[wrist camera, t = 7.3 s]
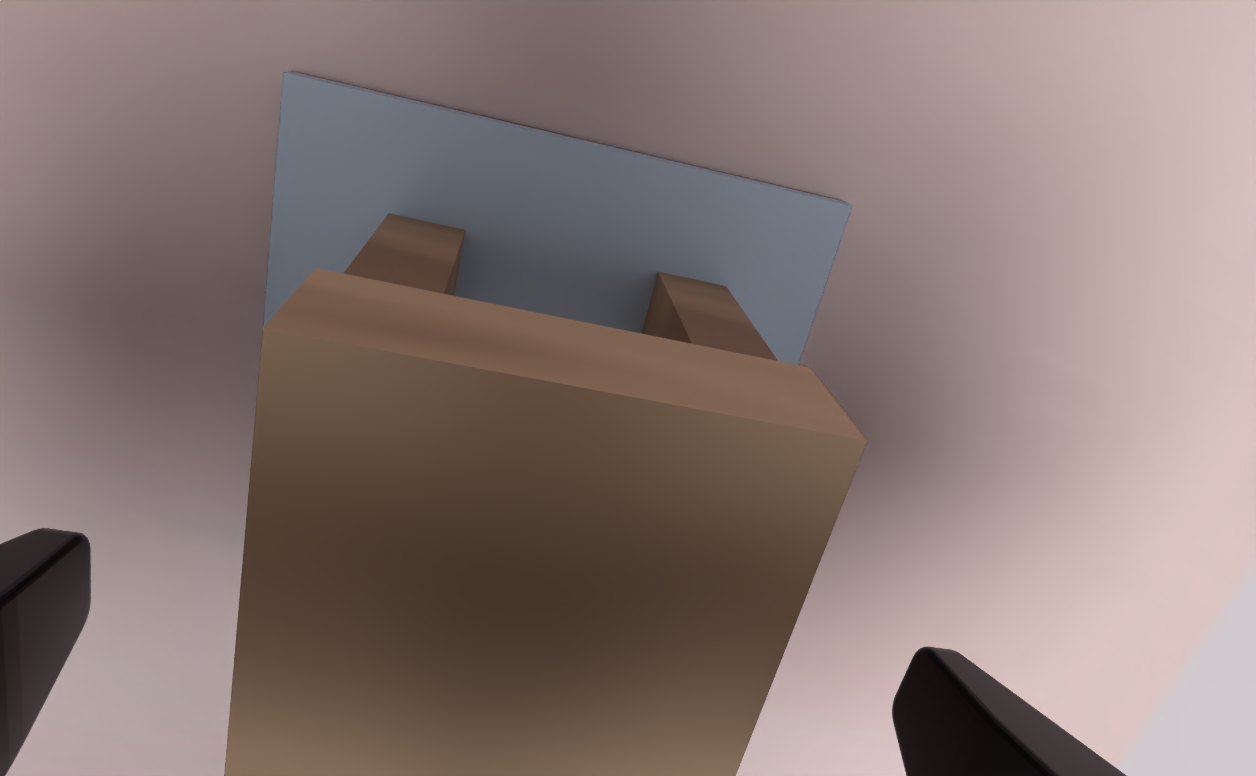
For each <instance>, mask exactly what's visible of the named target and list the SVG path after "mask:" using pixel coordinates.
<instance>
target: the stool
mask: <svg viewBox="0 0 1256 776" xmlns="http://www.w3.org/2000/svg"><path fill="white" fill-rule="evenodd" d="M464 235H465V230H464V229H459V228H454V227H450V226H445V225H441V224H436V223H431V222H427V221H422V220H417V219H413V218H408V217H404V216H399V215H394V214H390V213H388V215H387V216H386V217H385V219H384V220H383V221H382V223H381V224H380V225H379V227H378V228H377V229H376V231H375V232H374V233H373V235H372V236H371V237H370V239H369V240H368V241H367V243H366V244H365V245H364V247H363V248H362V249H361V251H360V252H359V253H358V255H357V256H356V257H355V259H354V260H353V261H352V263H351V264H350V265H349V267H348V268H347V269H346V271H345V272H344V273H338V272H333V271H328V270H323V269H318V268H315V269H314V270H313V272H312V273H311V274H310V275H309V276H308V277H307V278H306V280H305V281H304V282H303V283H302V284H301V285H300V286H299V288H298V289H297V290H296V291H295V292H294V293H293V294H292V295H291V297H290V298H289V299H288V300H287V301H286V302H285V303H284V305H283V306H282V307H281V308H280V309H279V310H278V311H277V313H276V314H275V315H274V316H273V317H272V318H271V319H270V320H269V322H268V323H267V324H266V325H265V326H264V327H263V332H262V344H261V355H260V367H259V379H258V390H257V402H256V414H255V425H254V437H253V448H252V460H251V472H250V483H249V495H248V506H247V518H246V530H245V541H244V553H243V565H242V576H241V588H240V599H239V611H238V623H237V634H236V646H235V657H234V669H233V681H232V692H231V704H230V716H229V727H228V739H227V750H226V762H225V774H224V776H736V773H737V771H738V768H739V766H740V763H741V761H742V758H743V755H744V753H745V750H746V748H747V745H748V743H749V740H750V738H751V735H752V733H753V730H754V728H755V725H756V722H757V720H758V717H759V715H760V712H761V710H762V707H763V705H764V702H765V700H766V697H767V695H768V692H769V689H770V687H771V684H772V682H773V679H774V677H775V674H776V672H777V669H778V667H779V664H780V662H781V659H782V656H783V654H784V651H785V649H786V646H787V644H788V641H789V639H790V636H791V634H792V631H793V629H794V626H795V623H796V621H797V618H798V616H799V613H800V611H801V608H802V606H803V603H804V601H805V598H806V596H807V593H808V590H809V588H810V585H811V583H812V580H813V578H814V575H815V573H816V570H817V568H818V565H819V563H820V560H821V557H822V555H823V552H824V550H825V547H826V545H827V542H828V540H829V537H830V535H831V532H832V530H833V527H834V524H835V522H836V519H837V517H838V514H839V512H840V509H841V507H842V504H843V502H844V499H845V496H846V494H847V491H848V489H849V486H850V484H851V481H852V479H853V476H854V474H855V471H856V469H857V466H858V463H859V461H860V458H861V456H862V453H863V451H864V448H865V446H866V443H867V440H866V438H865V437H864V436H863V435H862V433H861V432H860V431H859V429H858V428H857V427H856V426H855V424H854V423H853V422H852V420H851V419H850V418H849V416H848V415H847V414H846V413H845V411H844V410H843V409H842V407H841V406H840V405H839V404H838V402H837V401H836V400H835V398H834V397H833V396H832V395H831V393H830V392H829V391H828V389H827V388H826V387H825V385H824V384H823V383H822V382H821V380H820V379H819V378H818V376H817V375H816V374H815V373H814V371H813V370H812V369H811V368H810V367H805V366H800V365H795V364H790V363H785V362H780V361H778V360H777V358H776V357H775V356H774V354H773V353H772V351H771V350H770V348H769V347H768V346H767V344H766V343H765V341H764V340H763V338H762V337H761V335H760V334H759V333H758V331H757V330H756V328H755V327H754V325H753V324H752V322H751V321H750V320H749V318H748V317H747V315H746V314H745V312H744V311H743V310H742V308H741V307H740V305H739V304H738V302H737V301H736V299H735V298H734V297H733V295H732V294H731V292H730V291H729V289H728V288H727V287H726V286H723V285H718V284H713V283H709V282H704V281H700V280H695V279H690V278H686V277H681V276H676V275H672V274H667V273H663V272H658V274H657V278H656V281H655V285H654V289H653V293H652V296H651V300H650V304H649V308H648V311H647V315H646V319H645V323H644V326H643V330H642V334H641V333H636V332H631V331H626V330H621V329H616V328H611V327H606V326H601V325H596V324H591V323H586V322H581V321H576V320H571V319H566V318H561V317H556V316H552V315H547V314H542V313H537V312H532V311H527V310H522V309H517V308H512V307H507V306H502V305H497V304H492V303H487V302H482V301H477V300H472V299H467V298H462V297H457V296H454V292H455V286H456V281H457V275H458V269H459V263H460V258H461V252H462V246H463V240H464Z"/></svg>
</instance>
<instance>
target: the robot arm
mask: <svg viewBox="0 0 1256 776" xmlns="http://www.w3.org/2000/svg"><path fill="white" fill-rule="evenodd" d="M90 602H91V563H90V543H89V540H88V538H87V537H86V536H85V535H84V534H82V533H78V532H71V531H63V530H56V529H48V528H41V529H37V530H34V531H31V532H28V533H26V534H24V535H21V536H19V537H16V538H14V539H11V540H9V541H6V542H4V543H2V544H0V776H5V775H6V773H7V772H8V770H9V769H10V767H11V765H12V763H13V762H14V760H15V758H16V756H17V754H18V752H19V751H20V749H21V747H22V745H23V743H24V741H25V739H26V738H27V736H28V734H29V732H30V730H31V728H32V726H33V724H34V722H35V720H36V718H37V716H38V714H39V712H40V710H41V708H42V707H43V705H44V703H45V701H46V699H47V697H48V695H49V693H50V691H51V689H52V687H53V685H54V683H55V681H56V679H57V677H58V676H59V674H60V672H61V670H62V668H63V666H64V664H65V662H66V660H67V658H68V656H69V654H70V652H71V650H72V648H73V646H74V645H75V643H76V641H77V639H78V637H79V635H80V633H81V631H82V629H83V627H84V625H85V622H86V620H87V617H88V613H89V609H90ZM892 716H893V723H894V727H895V731H896V735H897V739H898V743H899V747H900V751H901V755H902V760H903V764H904V768H905V772H906V776H1126V775H1125V774H1124V773H1122V772H1121V771H1120V770H1118V769H1117V768H1115V767H1114V766H1113V765H1111V764H1110V763H1109V762H1107V761H1106V760H1105V759H1103V758H1102V757H1100V756H1099V755H1098V754H1096V753H1095V752H1094V751H1092V750H1091V749H1089V748H1088V747H1087V746H1085V745H1084V744H1083V743H1081V742H1080V741H1079V740H1077V739H1076V738H1074V737H1073V736H1072V735H1070V734H1069V733H1068V732H1066V731H1065V730H1064V729H1062V728H1061V727H1059V726H1058V725H1057V724H1055V723H1054V722H1053V721H1051V720H1050V719H1049V718H1047V717H1046V716H1044V715H1043V714H1042V713H1040V712H1039V711H1038V710H1036V709H1035V708H1034V707H1032V706H1031V705H1029V704H1028V703H1027V702H1025V701H1024V700H1023V699H1021V698H1020V697H1019V696H1017V695H1016V694H1014V693H1013V692H1012V691H1010V690H1009V689H1008V688H1006V687H1005V686H1004V685H1002V684H1001V683H999V682H998V681H997V680H995V679H994V678H993V677H991V676H990V675H989V674H987V673H986V672H984V671H983V670H982V669H980V668H979V667H978V666H976V665H975V664H974V663H972V662H971V661H969V660H968V659H967V658H965V657H964V656H963V655H961V654H960V653H958V652H956V651H954V650H950V649H942V648H935V647H923V648H920V649H919V650H918V651H917V652H916V653H915V655H914V656H913V658H912V661H911V663H910V665H909V667H908V669H907V671H906V674H905V676H904V678H903V680H902V682H901V684H900V687H899V689H898V691H897V693H896V695H895V698H894V702H893V708H892Z"/></svg>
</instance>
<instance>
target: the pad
mask: <svg viewBox="0 0 1256 776" xmlns="http://www.w3.org/2000/svg"><path fill="white" fill-rule="evenodd" d="M851 208H852V206H851V205H849V204H848V203H846V202H844V201H841V200H836V199H832V198H828V197H824V196H819V195H815V194H811V193H807V192H802V191H798V190H794V189H790V188H785V187H781V186H777V185H773V184H768V183H764V182H760V181H756V180H752V179H747V178H743V177H739V176H735V175H730V174H726V173H722V172H718V171H713V170H709V169H705V168H701V167H696V166H692V165H688V164H684V163H679V162H675V161H671V160H667V159H662V158H658V157H654V156H650V155H645V154H641V153H637V152H633V151H628V150H624V149H620V148H616V147H611V146H607V145H603V144H599V143H594V142H590V141H586V140H582V139H577V138H573V137H569V136H565V135H560V134H556V133H552V132H548V131H543V130H539V129H535V128H531V127H526V126H522V125H518V124H514V123H509V122H505V121H501V120H497V119H493V118H488V117H484V116H480V115H476V114H471V113H467V112H463V111H459V110H454V109H450V108H446V107H442V106H437V105H433V104H429V103H425V102H420V101H416V100H412V99H408V98H403V97H399V96H395V95H391V94H386V93H382V92H378V91H374V90H369V89H365V88H361V87H357V86H352V85H348V84H344V83H340V82H335V81H331V80H327V79H323V78H318V77H314V76H310V75H306V74H301V73H297V72H293V71H288V72H284V73H283V82H282V94H281V107H280V119H279V132H278V145H277V157H276V170H275V182H274V195H273V207H272V220H271V233H270V245H269V258H268V270H267V283H266V296H265V308H264V321H263V327H264V326H265V325H266V324H267V323H268V322H269V320H270V319H271V318H272V317H273V316H274V315H275V314H276V313H277V311H278V310H279V309H280V308H281V307H282V306H283V305H284V303H285V302H286V301H287V300H288V299H289V298H290V297H291V295H292V294H293V293H294V292H295V291H296V290H297V289H298V288H299V286H300V285H301V284H302V283H303V282H304V281H305V280H306V278H307V277H308V276H309V275H310V274H311V273H312V272H313V270H314V269H315V268H318V269H323V270H328V271H333V272H338V273H344V272H345V271H346V269H347V268H348V267H349V265H350V264H351V263H352V261H353V260H354V259H355V257H356V256H357V255H358V253H359V252H360V251H361V249H362V248H363V247H364V245H365V244H366V243H367V241H368V240H369V239H370V237H371V236H372V235H373V233H374V232H375V231H376V229H377V228H378V227H379V225H380V224H381V223H382V221H383V220H384V219H385V217H386V216H387V215H388V213H390V214H394V215H399V216H404V217H408V218H413V219H417V220H422V221H427V222H431V223H436V224H441V225H445V226H450V227H454V228H459V229H464V230H465V235H464V240H463V246H462V252H461V258H460V263H459V269H458V275H457V281H456V286H455V292H454V296H457V297H462V298H467V299H472V300H477V301H482V302H487V303H492V304H497V305H502V306H507V307H512V308H517V309H522V310H527V311H532V312H537V313H542V314H547V315H552V316H556V317H561V318H566V319H571V320H576V321H581V322H586V323H591V324H596V325H601V326H606V327H611V328H616V329H621V330H626V331H631V332H636V333H641V334H642V330H643V326H644V323H645V319H646V315H647V311H648V308H649V304H650V300H651V296H652V293H653V289H654V285H655V281H656V278H657V274H658V272H663V273H667V274H672V275H676V276H681V277H686V278H690V279H695V280H700V281H704V282H709V283H713V284H718V285H723V286H726V287H727V288H728V289H729V291H730V292H731V294H732V295H733V297H734V298H735V299H736V301H737V302H738V304H739V305H740V307H741V308H742V310H743V311H744V312H745V314H746V315H747V317H748V318H749V320H750V321H751V322H752V324H753V325H754V327H755V328H756V330H757V331H758V333H759V334H760V335H761V337H762V338H763V340H764V341H765V343H766V344H767V346H768V347H769V348H770V350H771V351H772V353H773V354H774V356H775V357H776V358H777V360H778V361H780V362H785V363H790V364H795V365H798V364H799V361H800V358H801V355H802V352H803V349H804V346H805V343H806V341H807V338H808V335H809V332H810V329H811V326H812V323H813V320H814V317H815V314H816V311H817V308H818V305H819V302H820V299H821V296H822V293H823V290H824V288H825V285H826V282H827V279H828V276H829V273H830V270H831V267H832V264H833V261H834V258H835V255H836V252H837V249H838V246H839V243H840V240H841V237H842V235H843V232H844V229H845V226H846V223H847V220H848V217H849V214H850V211H851Z"/></svg>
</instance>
